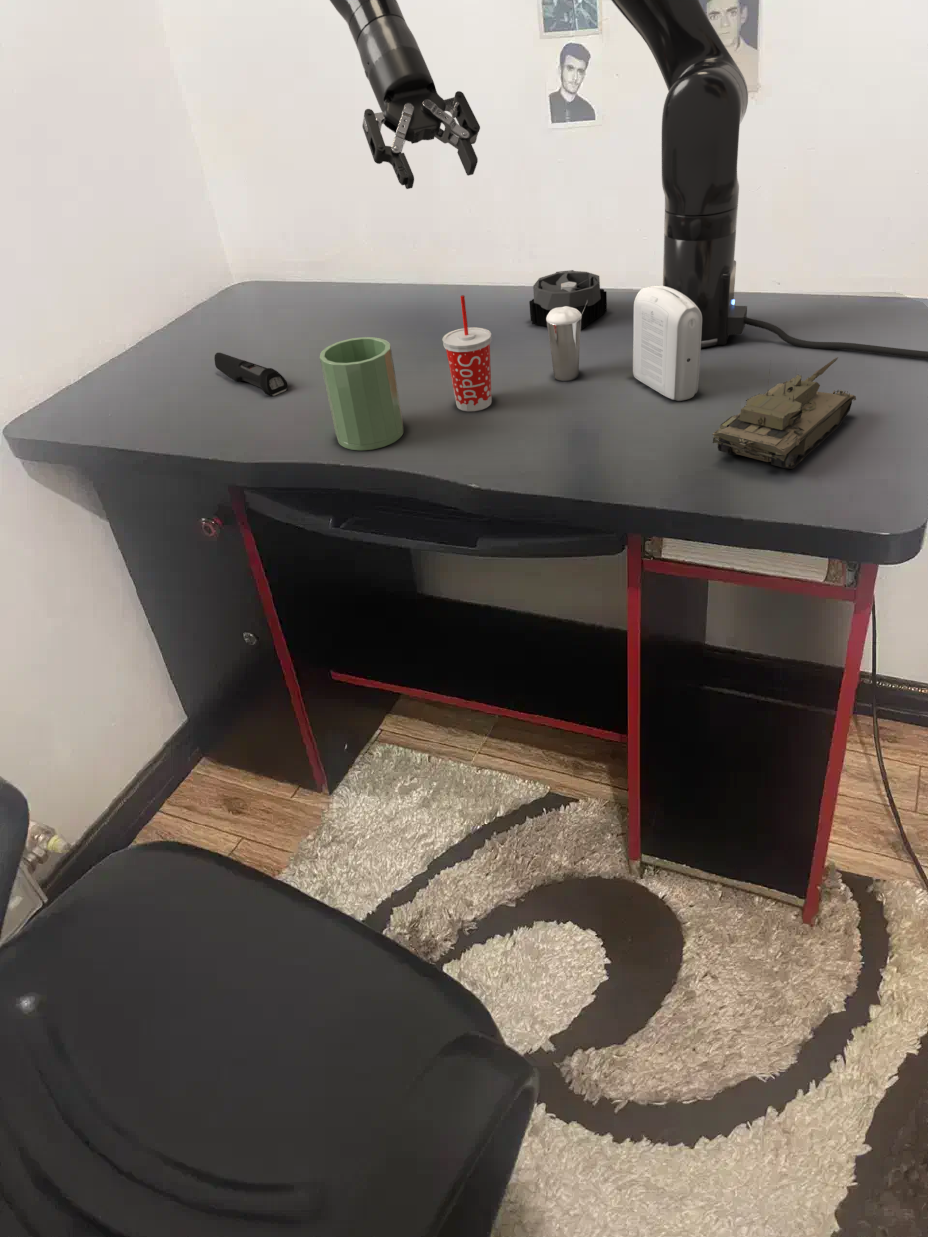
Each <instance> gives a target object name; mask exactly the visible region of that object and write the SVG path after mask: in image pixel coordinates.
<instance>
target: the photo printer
mask: <svg viewBox="0 0 928 1237" xmlns="http://www.w3.org/2000/svg"><path fill="white" fill-rule="evenodd" d="M632 332H633V336H632V337H633V339H632V340H633V343H632V375H633V377H634V378H635V379H636V380H638V381H639V382H641V383H642V384H644V385H645V386H647V387H648V388H651V389H652V390H654V391H656V392H657V393H659V394H660V395H663V397H666V398H668V399H670V400H673V401H677V402H681V401H686V400H690V399H692V398H693V397H694V396H695V394H697V393H698V389H699V382H700V381H699V379H700V365H701V349H702V348H701V334H702V314H701V311H700V310H699V308H698V307H697V306H696V304H695V303H694V302H693V301H691V300H690V299H689V298H688V297H687V296H685V295H684V294H682V293H681V292H679V291H677V290H675V289H672V288H669V287H666V286H663V285H658V284H657V285H650V286H648V287H643V288H641V289H639V291H638V293H637V294H636V295H635V298H634V302H633V331H632Z"/></svg>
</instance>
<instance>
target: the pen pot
mask: <svg viewBox="0 0 928 1237" xmlns="http://www.w3.org/2000/svg"><path fill="white" fill-rule="evenodd" d="M319 362H320V367H321V371H322V376H323V381H324V386H325V389H326V395H327V400H328V405H329V409H330V413H331V418H332V423H333V428H334V433H335V437H336V439H337V443H338V444H339V445H340V446H341V447H342V448H345V449H348V450H352V451H371V450H372V451H373V450H377V449H382V448H385V447H388V446H390V445H392V444H394V443H396V442H397V441H398V440H399V439H400V438H401V437H402V436H403V434H404V432H405V428H404V418H403V413H402V409H401V408H402V407H401V402H400V395H399V390H398V383H397V377H396V371H395V364H394V358H393V352H392V346H391V343H390V342H389V341H388V340H386V339H383V338H379V337H376V336H373V337H372V336H361V337H353V338H347V339H344V340H340V341H337V342H335V343H332V344H330V345H328V346H327V347H325V348H324V349H323V350H322V351H320V355H319Z"/></svg>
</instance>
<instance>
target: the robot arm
mask: <svg viewBox="0 0 928 1237" xmlns="http://www.w3.org/2000/svg"><path fill="white" fill-rule="evenodd" d="M610 1H611V3H612V4H613V5H614V6H615V8H616V9H617V10H618V12H620V13H621V15H622V16H623V17H624V18H625V19H626V20H627V21H628V23H629V24H630V25H631V26H632V28H634V30H635V31H636V32H637V33H638V34H639V36H640V37H641V38H642V40H643V41H644V42H645V44H646V45H647V48H648V49H649V50H650V52H651V54H652V56H653V58H654V60H655V63H656V65H657V66H658V69H659V71H660V73H661V75H662V78H663V80H664V83H665V85H666V88H667V91H668V92H667V94H666V96H665V100H664V101H663V102H664V103H663V108H662V115H661V186H662V191H663V195H664V216H663V217H664V222H663V224H664V225H663V258H662V260H663V263H662V286H666V287H669V288H672V289H675V290H677V291H679V292H681V293H682V294H684V295H685V296H687V297H688V298H689V299H690V300H691V301H693V302H694V303H695V304H696V306H697V307H698V308H699V310H700V311H701V314H702V334H701V349H702V348H709V347H713V346H725V345H726V344H727V343H728V340H729V338H730V336H731V335H736V336H737V335H743V332H744V330H745V326H746V325H747V326H751V327H756V328H760V329H763V330H767V331H769V332H771V333H773V334H775V335H777V336H778V337H779V338H780V339H781V340H782V341H784V342H785V343H787V344H790V345H793V346H796V347H800V348H806V349H814V350H815V349H818V350H846V351H847V350H848V351H856V352H863V353H873V354H881V355H890V356H898V357H907V358H915V359H916V358H917V359H926V360H928V351H926V350H917V349H907V348H899V347H892V346H891V347H889V346H881V345H872V344H863V343H855V342H843V341H842V342H841V341H812V340H804V339H800V338H796V337H794V336H791V335H789V334H788V333H786V332H785V330H783V329H782V328H780V327H779V326H777V325H774V324H772V323H769V322H766V321H763V320H759V319H755V318H751V317H747V314H748V305H735V302H736V299H735V286H736V270H737V260H736V259H735V254H736V253H735V252H736V241H737V240H736V239H737V238H736V237H737V225H738V209H739V198H740V197H739V196H740V183H739V179H738V158H739V156H738V155H739V138H740V127H741V126H740V125H741V123H742V121H743V120H744V118H745V115H746V113H747V111H748V105H749V89H748V85H747V81H746V79H745V76H744V74H743V72H742V71H741V69H740V67H739V66H738V64H737V63H736V61H735V60H734V58H733V56H732V55H731V54H730V52H729V50H728V49H727V47H726V46H725V44H724V42H723V41H722V39H721V38H720V36H719V34H718V32H717V31H716V29H715V27H714V26H713V23H711V21H710V19H709V17H708V15H707V14H706V11H705V10H704V8H703V6H702V4H701V2H700V0H610ZM329 2H330V3H331V4H332V6H333V8H334V9H335V10H336V12H337V13H338V14H339V15H340V16H341V18H342V19H343V20H344V21H345V23H346V24H347V26H348V29H349V31H350V34H351V36H352V39H353V42H354V44H355V46H356V49H357V51H358V55H359V58H360V61H361V65H362V68H363V71H364V75H365V78H366V79H367V80H368V82H369V85H370V87H371V90H372V92H373V94H374V96H375V99H376V101H377V104H378V106H379V109H380V111H381V112H374V110H373V109H371V108H366V109H365V110H364V113H363V119H362V125H361V126H362V131H363V133H364V136H365V138H366V141H367V144H368V148H369V150H370V153H371V157H372V159H373V161H374V163H375V164H377V165H381V164H383V163H388V164H390V165H391V167H392V169H393V171H394V173H395V176H396V178H397V181H398V183H399V184H400V185H401V186H404V187H405V189H406V190H409V189H413V187H414V183H415V175H414V173H413V171H412V168H411V166H410V164H409V161H408V159H407V157H406V154H405V152H403V149H404V147H405V144H406V142H409V143H411V145H413V144H418V143H419V142H421V141H432V140H434V139H436V140H438V141H440V142H441V143H443V144H449V145H450V146H452V147H453V148H455V149H456V150H457V152H456V153H457V155H458V158H459V160H460V162H461V165H462V167H463V169H464V172H465V174H466V176H472V175H474V173H475V170H476V168H477V165H478V162H479V160H478V156H477V154H476V152H475V149H474V147H473V145H474V144H475V143H476V142H477V139H478V136H479V132H480V130H481V125H480V124H479V121H478V120H477V117H476V115H475V114H474V112H473V109H472V107H471V106H470V103H469V102H468V99H467V98H466V96H465V94H464V92H462V91H460V90H457V91H456V92H455V93H454V96H453V97H449V98H445V99H444V98H443V97H442V96H441V95H439V94H438V92H437V89H436V84H435V81H434V79H433V77H432V75H431V74H432V73H431V72H430V70H429V68H428V66H427V62H426V61H425V58H424V56H423V54H422V52H421V48H420V47H419V44H418V42H417V40H416V38H415V36H414V34H413V32H412V31H411V29H410V27H409V26H408V24H407V21H406V19H405V17H404V15H403V12H402V10H401V7H400V5H399V3H398V0H329ZM447 112H448V113H450V114H448V113H447ZM383 125H384V126H385V127H386V128H387V129H389V130H390V131H392V132H393V133H394V134H395V135H394V138H393V141H392V143H391V145H386V144H385V140H384V138H383V134H382V132H381V131H382V127H383ZM442 125H443V126H444V129H442V128H441V127H442Z"/></svg>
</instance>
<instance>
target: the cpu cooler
mask: <svg viewBox="0 0 928 1237" xmlns="http://www.w3.org/2000/svg"><path fill="white" fill-rule="evenodd" d="M600 280H601V279H600V275H599V274H595V273H592V272H588V271H581V270H574V269H571V270H570V269H569V270H560V271H555V272H553V273H551V274H548V275H545V276H542V277H539V278H538V279H537V280H536V281H535V283H534V284H533V285H532V287H533V290H532V291H533V298H532V299H531V300H529V302H528V304H529V315H530V316H529V317H530V322H531V324H532V325H537V326H544V327H547V321H546V317H547V315H548V313H549V312H550V311H551V310H552V309H554V308H558V307H564V306H568V307H572V308H575V309H577V310H578V311H579V312H580V313H581V315H582V317H581V329H584V328H585V327H587V326H588V325H590V324H591V323H593V322H594V321H596V320H597V319H598V318H599V317H601V316H602V315H605V313H607V312H608V300H607V297H608V296H607V291H605V289H604V288H601V281H600ZM587 300H588V301H587ZM586 302H587V304H586ZM585 305H586V306H585ZM584 307H585V309H584ZM583 310H584V311H583ZM582 312H583V314H582Z"/></svg>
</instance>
